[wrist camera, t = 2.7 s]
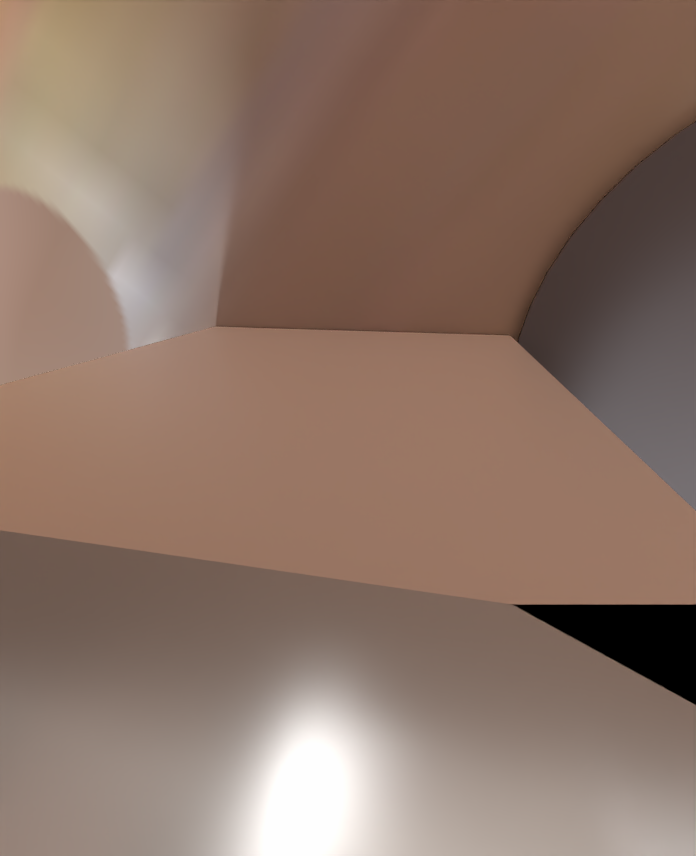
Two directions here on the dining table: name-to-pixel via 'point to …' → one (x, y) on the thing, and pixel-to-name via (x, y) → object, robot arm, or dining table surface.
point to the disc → (631, 313)
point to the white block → (337, 607)
